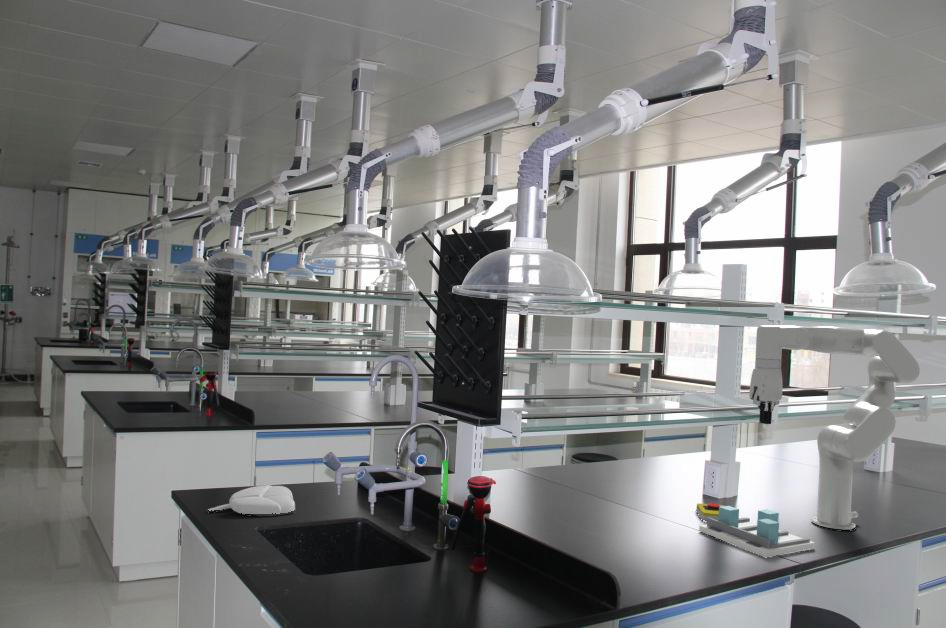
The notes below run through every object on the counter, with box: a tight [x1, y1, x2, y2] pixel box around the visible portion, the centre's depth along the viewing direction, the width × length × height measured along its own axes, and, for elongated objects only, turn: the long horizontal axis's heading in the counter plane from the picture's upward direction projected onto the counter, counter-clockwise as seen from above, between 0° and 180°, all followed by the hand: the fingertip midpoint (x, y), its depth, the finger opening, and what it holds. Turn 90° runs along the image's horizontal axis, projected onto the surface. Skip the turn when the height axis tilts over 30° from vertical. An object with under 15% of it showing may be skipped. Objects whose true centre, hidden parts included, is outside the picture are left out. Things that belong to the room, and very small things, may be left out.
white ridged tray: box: [698, 517, 816, 558], centre depth 209 cm, size 20×24×4 cm
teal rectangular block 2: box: [756, 519, 780, 544], centre depth 201 cm, size 4×4×6 cm
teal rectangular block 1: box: [718, 505, 740, 528], centre depth 214 cm, size 4×4×6 cm
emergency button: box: [695, 502, 724, 521], centre depth 232 cm, size 9×4×15 cm
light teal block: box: [757, 508, 780, 522], centre depth 211 cm, size 4×4×6 cm
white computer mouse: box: [207, 484, 296, 515], centre depth 217 cm, size 7×17×25 cm
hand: (765, 423), depth 224 cm, fingers closed
